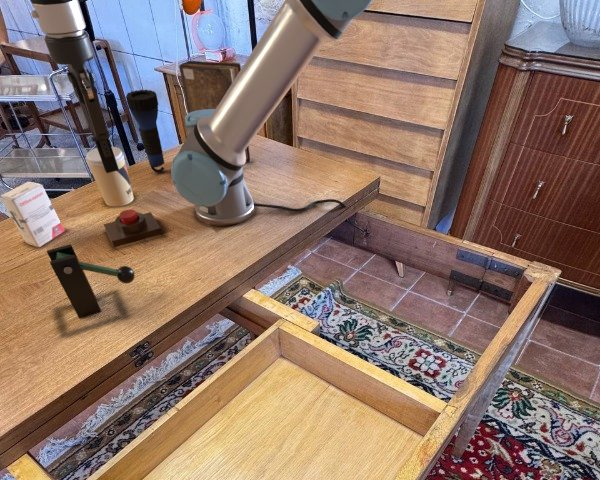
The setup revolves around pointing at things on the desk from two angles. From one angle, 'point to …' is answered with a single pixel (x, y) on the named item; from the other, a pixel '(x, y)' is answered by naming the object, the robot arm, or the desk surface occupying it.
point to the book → (208, 85)
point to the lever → (106, 270)
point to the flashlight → (147, 124)
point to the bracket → (74, 281)
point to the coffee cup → (111, 178)
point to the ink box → (33, 213)
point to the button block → (132, 230)
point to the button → (128, 216)
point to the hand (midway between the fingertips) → (112, 170)
